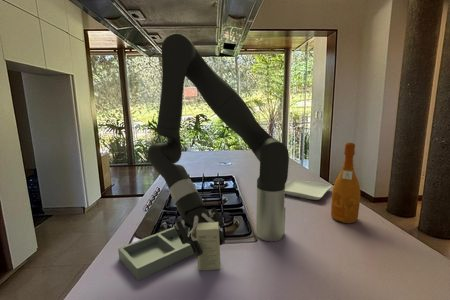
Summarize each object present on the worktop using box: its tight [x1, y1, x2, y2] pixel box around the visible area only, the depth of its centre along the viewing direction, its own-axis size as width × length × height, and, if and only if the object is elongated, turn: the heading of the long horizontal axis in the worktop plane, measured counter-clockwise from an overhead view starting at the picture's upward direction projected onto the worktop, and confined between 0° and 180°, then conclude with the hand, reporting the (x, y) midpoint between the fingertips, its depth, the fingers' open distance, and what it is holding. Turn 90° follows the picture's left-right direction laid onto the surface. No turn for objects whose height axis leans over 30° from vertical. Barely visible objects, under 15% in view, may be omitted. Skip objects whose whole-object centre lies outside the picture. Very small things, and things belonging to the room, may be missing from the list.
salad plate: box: [285, 178, 333, 201], centre depth 131 cm, size 21×21×3 cm
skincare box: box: [196, 222, 221, 271], centre depth 73 cm, size 6×4×12 cm
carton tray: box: [117, 225, 195, 281], centre depth 80 cm, size 25×13×4 cm, turn 132°
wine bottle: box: [330, 142, 361, 224], centre depth 99 cm, size 10×10×30 cm
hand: (211, 249), depth 72 cm, fingers closed on skincare box, 7 cm apart
